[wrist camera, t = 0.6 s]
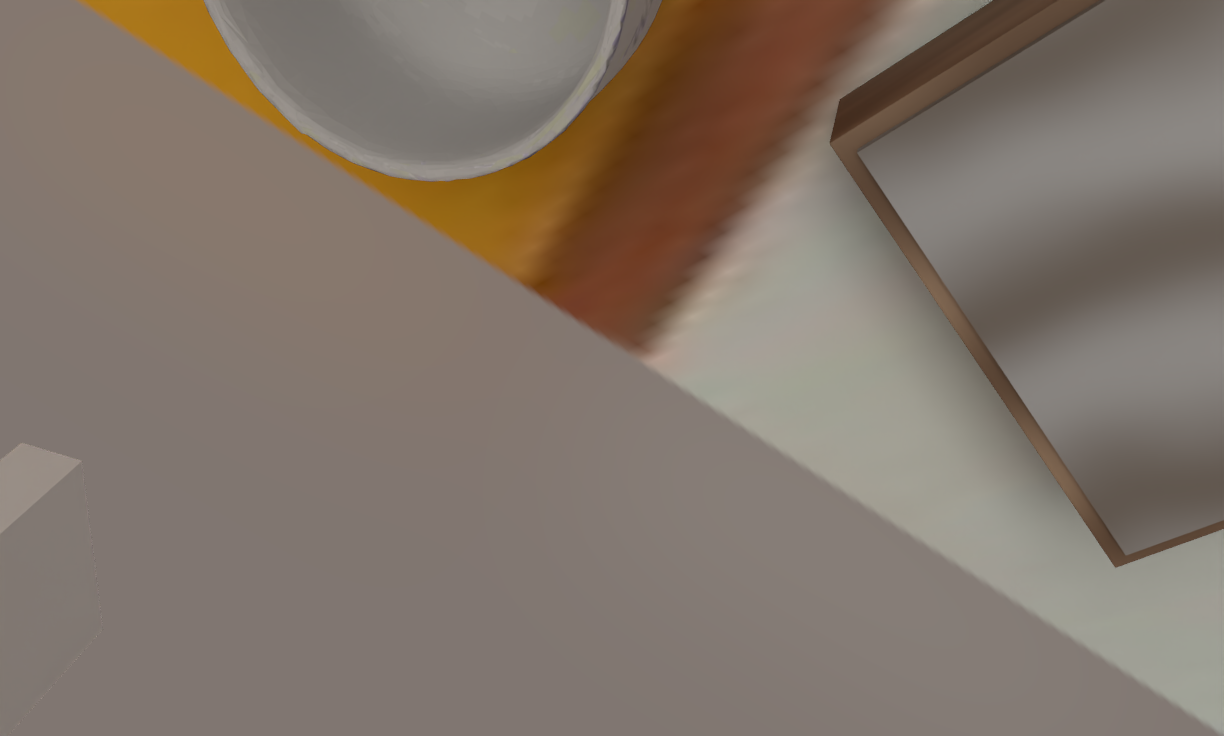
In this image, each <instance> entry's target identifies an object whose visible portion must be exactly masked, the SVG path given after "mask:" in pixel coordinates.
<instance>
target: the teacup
mask: <svg viewBox="0 0 1224 736" xmlns="http://www.w3.org/2000/svg"><path fill="white" fill-rule="evenodd" d="M204 2H205V5H206V7H207V9H208V12H209V14H210V16H211V18H212V19H213V21H214V23H215V25H216V27H217V28H218V30H219V32H220V34H221V36H222V38H223V39H224V41H225V43H226V45H227V47H228V48H229V50H230V51H231V53H232V54H233V55H234V57H235V58H236V60H237V61H238V62H239V64H240V65H241V67H242V68H243V69H244V71H245V72H246V74H247V75H248V76H249V78H250V79H251V80H252V82H253V83H254V85H255V86H256V87H257V89H258V90H259V91H260V92H261V93H262V94H263V95H264V96H265V97H266V98H267V99H268V100H269V101H270V102H271V103H272V104H273V105H274V106H275V107H276V108H277V109H278V110H279V111H280V112H281V114H282V115H283V116H284V117H285V118H286V119H287V120H288V121H289V122H290V123H292V124H293V125H294V126H295V127H296V128H297V129H298V130H299V131H300V132H301V133H303V134H307V135H308V136H309V137H311V138H312V139H314V140H315V141H317V142H318V143H319V144H321V145H322V146H324V147H325V148H326V149H328V150H330V151H332V152H334V153H336V154H337V155H339V156H341V157H343V158H345V159H347V160H349V161H350V162H352V163H355V164H358V165H360V166H363V167H366V168H368V169H371V170H374V171H377V172H380V173H383V174H386V175H389V176H392V177H398V178H404V179H410V180H423V181H440V180H441V181H452V180H455V179H468V178H474V177H479V176H483V175H486V174H490V173H493V172H496V171H498V170H501V169H503V168H506V167H509V166H512V165H514V164H515V163H517V162H519V161H522V160H524V159H527V158H529V157H531V156H532V155H533V154H535V153H536V152H538V151H539V150H540V149H542V148H543V147H545V146H546V145H547V144H549V143H550V142H551V141H553V140H554V139H555V138H556V137H558V136H559V135H560V134H561V133H563V132H564V131H565V130H566V129H567V127H568V126H569V125H570V124H571V123H572V122H573V121H574V120H575V119H576V118H577V117H578V115H579V114H580V113H581V112H582V111H583V110H584V108H585V107H586V106H587V104H588V103H589V102H590V101H591V100H592V99H593V98H594V97H595V96H596V95H597V94H598V93H599V92H600V91H601V90H602V89H603V88H604V87H605V86H606V85H607V84H608V83H609V82H610V81H611V80H612V79H613V77H614V76H615V75H616V74H617V73H618V72H619V71H620V70H621V69H622V68H623V66H624V65H625V64H626V62H627V61H628V60H629V59H630V57H631V56H632V55H633V53H634V52H635V51H636V49H637V48H638V46H639V45H640V43H641V42H642V40H643V38H644V37H645V35H646V34H647V32H648V30H649V28H650V26H651V24H652V22H653V20H654V19H655V16H656V14H657V11H658V9H659V7H660V4H661V2H662V0H204Z"/></svg>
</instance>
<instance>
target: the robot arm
mask: <svg viewBox="0 0 1224 736" xmlns="http://www.w3.org/2000/svg"><path fill="white" fill-rule="evenodd" d="M102 630H103V627H102V618H101V610H100V602H99V594H98V586H97V578H96V570H95V562H94V553H93V545H92V537H91V530H90V521H89V513H88V505H87V497H86V489H85V481H84V472H83V464H82V461H81V460H77V459H74V458H71V457H67V456H64V455H61V454H57V453H54V452H51V451H48V450H44V449H41V448H38V447H34V446H31V445H28V444H24V443H21V444H19V445H18V446H17V447H16V448H15V449H13V450H12V451H11V452H10V453H8V454H7V455H6V456H5V457H3V458H2V459H1V460H0V736H8V735H9V734H10V733H11V732H12V731H13V730H14V729H15V728H16V726H17V725H18V724H19V723H20V722H21V721H22V720H23V719H24V717H25V716H26V715H27V714H28V713H29V712H30V711H31V710H32V708H33V707H34V706H35V705H36V704H37V703H38V702H39V700H40V699H41V698H42V697H43V696H44V695H45V694H46V693H47V692H48V690H49V689H50V688H51V687H52V686H53V685H54V684H55V682H56V681H57V680H58V679H59V678H60V677H61V676H62V675H63V674H64V672H65V671H66V670H67V669H68V668H69V667H70V666H71V664H72V663H73V662H74V661H75V660H76V659H77V658H78V657H79V656H80V654H81V653H82V652H83V651H84V650H85V649H86V648H87V647H88V645H89V644H90V643H91V642H92V641H93V640H94V639H95V638H96V636H97V635H98V634H99V633H100V632H101V631H102Z"/></svg>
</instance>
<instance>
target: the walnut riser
mask: <svg viewBox="0 0 1224 736" xmlns="http://www.w3.org/2000/svg"><path fill="white" fill-rule="evenodd" d="M830 145H831V146H832V148H833V149H834V151H835V152H836V154H837V155H838V157H839V158H840V160H841V161H842V163H843V164H844V166H845V167H846V169H847V170H848V172H849V173H850V175H851V176H852V178H853V179H854V181H855V182H856V184H857V185H858V186H859V188H860V189H861V191H862V192H863V194H864V195H865V197H866V198H867V200H868V201H869V203H870V204H871V206H872V207H873V209H874V210H875V212H876V213H877V215H878V216H879V218H880V219H881V221H882V222H883V224H884V225H885V227H886V228H887V230H888V231H889V232H890V234H891V235H892V237H893V238H894V240H895V241H896V243H897V244H898V246H899V247H900V249H901V250H902V252H903V253H904V255H905V256H906V258H907V259H908V261H909V262H910V264H911V265H912V267H913V268H914V270H915V271H916V273H917V274H918V276H919V277H920V278H921V280H922V281H923V283H924V284H925V286H926V287H927V289H928V290H929V292H930V293H931V295H932V296H933V298H934V299H935V301H936V302H937V304H938V305H939V307H940V308H941V310H942V311H943V313H944V314H945V316H946V317H947V319H948V320H949V322H950V323H951V325H952V326H953V327H954V329H955V330H956V332H957V333H958V335H959V336H960V338H961V339H962V341H963V342H964V344H965V345H966V347H967V348H968V350H969V351H970V353H971V354H972V356H973V357H974V359H975V360H976V362H977V363H978V365H979V366H980V368H981V369H982V371H983V372H984V373H985V375H986V376H987V378H988V379H989V381H990V382H991V384H992V385H993V387H994V388H995V390H996V391H997V393H998V394H999V396H1000V397H1001V399H1002V400H1003V402H1004V403H1005V405H1006V406H1007V408H1008V409H1009V411H1010V412H1011V414H1012V415H1013V417H1014V418H1015V419H1016V421H1017V422H1018V424H1019V425H1020V427H1021V428H1022V430H1023V431H1024V433H1025V434H1026V436H1027V437H1028V439H1029V440H1030V442H1031V443H1032V445H1033V446H1034V448H1035V449H1036V451H1037V452H1038V454H1039V455H1040V457H1041V458H1042V460H1043V461H1044V463H1045V464H1046V465H1047V467H1048V468H1049V470H1050V471H1051V473H1052V474H1053V476H1054V477H1055V479H1056V480H1057V482H1058V483H1059V485H1060V486H1061V488H1062V489H1063V491H1064V492H1065V494H1066V495H1067V497H1068V498H1069V500H1070V501H1071V503H1072V504H1073V506H1074V507H1075V509H1076V510H1077V511H1078V513H1079V514H1080V516H1081V517H1082V519H1083V520H1084V522H1085V523H1086V525H1087V526H1088V528H1089V529H1090V531H1091V532H1092V534H1093V535H1094V537H1095V538H1096V540H1097V541H1098V543H1099V544H1100V546H1101V547H1102V549H1103V550H1104V552H1105V553H1106V555H1107V556H1108V557H1109V559H1110V560H1111V562H1112V563H1113V565H1114V566H1115V568H1116V567H1119V566H1122V565H1124V564H1127V563H1130V562H1133V561H1135V560H1138V559H1141V558H1144V557H1147V556H1149V555H1152V554H1155V553H1158V552H1160V551H1163V550H1166V549H1169V548H1172V547H1174V546H1177V545H1180V544H1183V543H1186V542H1188V541H1191V540H1194V539H1197V538H1199V537H1202V536H1205V535H1208V534H1211V533H1213V532H1216V531H1219V530H1222V529H1224V0H993V1H992V2H990V3H989V4H987V5H986V6H984V7H983V8H981V9H979V10H978V11H976V12H975V13H973V14H972V15H970V16H969V17H967V18H965V19H964V20H962V21H961V22H959V23H958V24H956V25H955V26H953V27H952V28H950V29H948V30H947V31H945V32H944V33H942V34H941V35H939V36H938V37H936V38H934V39H933V40H931V41H930V42H928V43H927V44H925V45H924V46H922V47H921V48H919V49H917V50H916V51H914V52H913V53H911V54H910V55H908V56H907V57H905V58H903V59H902V60H900V61H899V62H897V63H896V64H894V65H893V66H891V67H890V68H888V69H886V70H885V71H883V72H882V73H880V74H879V75H877V76H876V77H874V78H872V79H871V80H869V81H868V82H866V83H865V84H863V85H862V86H860V87H859V88H857V89H855V90H854V91H852V92H851V93H849V94H848V95H846V96H845V97H843V98H841V99H840V102H839V106H838V110H837V115H836V119H835V123H834V127H833V131H832V135H831V140H830Z"/></svg>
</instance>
